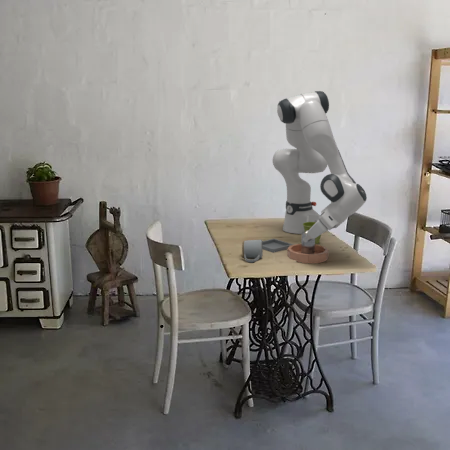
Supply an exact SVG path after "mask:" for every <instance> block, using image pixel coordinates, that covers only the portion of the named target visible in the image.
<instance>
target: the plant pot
mask: <svg viewBox="0 0 450 450" xmlns="http://www.w3.org/2000/svg"><path fill="white" fill-rule="evenodd" d="M315 223H316V222H305V223H303V226H304V230H305V232H306V231H307V230H309V229H310V228H311V227H312V226H313V225H314V224H315ZM321 236H322V234H321V235H320V236H318V237H316V238H315V244H317V245H319V244H320V243H321Z"/></svg>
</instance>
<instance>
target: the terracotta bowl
mask: <svg viewBox="0 0 450 450" xmlns="http://www.w3.org/2000/svg"><path fill="white" fill-rule="evenodd" d="M286 252H287V257H288V258H289V259H291V260H293V261H296V262H295V263H300V262H302V264H308V263H309V264H320V263H323V262H327V260H328V259H329V248H327V247H326V246H324V245H320V244H315V253H314V254H303V253H301V243H296V244H295V243H294V245H291V246H289V247H288V249H287V250H286Z"/></svg>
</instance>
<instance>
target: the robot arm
mask: <svg viewBox="0 0 450 450" xmlns="http://www.w3.org/2000/svg"><path fill="white" fill-rule="evenodd" d="M329 100H330V99H329V98H328V95H327V94H326V93H325V91H321V90H314V92H305V93H300V94H298V95H294V96H291V97H288V98H287V97H286V98H283V99H282V100H279V102H278V104H277V108H276V109H277V112H276V113H277V116H278V119H279V120H280V122H281V123H283V124H285V132H286V133H285V136H286V140H287V142H288V144H289V146H291V147H293V148H283V149H278V150H276V151H275V152H274V154H273V157H272V166H273V167H274V169H275V170H277V172H279V173H280V175H281V176H282V178H283V179H284V181H285V184H286V202H285V213H284V220H283V221H284V222H283V224H282V231H283V232H285V233H290V234H297V235H298V234H299V235H302V233H303V232H305V230H304V226H303V223H305V222H316V223H315V224H314V225H313V226H312V227H311V228H310V229H309V231H308V232H307V235H306V237H304V238H303V241H304V242H307V241H308V240H309V239H312V240H313V239H315V238H316V237H318V236H320V235H321V236H322V234H324V233H326V232H327V231H331V230H332V229H337V228H338V227H339V226H340V225H341V224H343V223H344V222H345V221H346V220H347V219H348V218H349V217H350V216H352V215H353V214H355V213H356V212H357V211H359V209H361V207H363V206H364V204H365V203H366V201H367V194H366V191H365V189H364V188H363V187H362V186H361V185H360V184H359V183H357V182H356V181H355V179H354V178H353V177H352V176H351V175H350V174H349V173H348V170H347V168H346V165H345V162H344V160H343V157H342V155H341V152H340V150H339V148H338V145H337V143H336V140H335V138H334V137H335V136H334V135H333V131H332V128H331V125H330V122H329V119H328V115H327V113H328V112H329V109H330V101H329ZM327 167H328V169H329V171H330V173H329V174H327V175H324V177H323V178H322V180H321V181H320V186H319V187H320V192H321V193H322V195H324V197H326V198H327V200H328V201H330V203H329V204H328V205H327V206H326V207H324V208H323V209H322V210H321V211H320V212H321V213H320V214H319V213H318V212H317V211H315V210H314V208H313V207H316V206H317V202H316V201H311V195H312V194H311V192H312V189H311V187H312V186H311V185H310V183H309V182H308V181H306V180H304V179H302V178H301V176H300V174H299V173H302V174H318V173H323V172H324V171H325V170H326V169H327Z"/></svg>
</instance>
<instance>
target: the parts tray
mask: <svg viewBox="0 0 450 450" xmlns="http://www.w3.org/2000/svg"><path fill="white" fill-rule="evenodd" d="M262 245H263V251H264V250H265V251H267V252H270V253H277V252H282V251H285V250H286V251H287V250H288V247H289V246H291V245H295V243H290V242H286V241H283V240H280V239H277V238H271V239H267V240H262Z"/></svg>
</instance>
